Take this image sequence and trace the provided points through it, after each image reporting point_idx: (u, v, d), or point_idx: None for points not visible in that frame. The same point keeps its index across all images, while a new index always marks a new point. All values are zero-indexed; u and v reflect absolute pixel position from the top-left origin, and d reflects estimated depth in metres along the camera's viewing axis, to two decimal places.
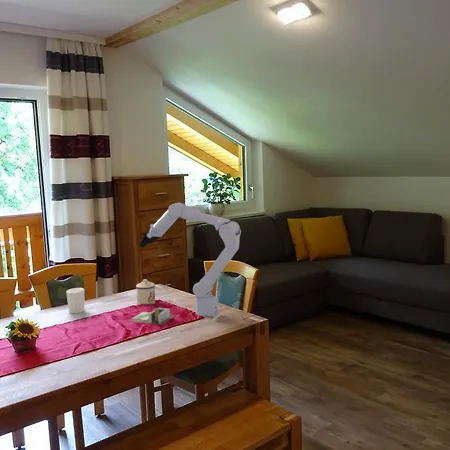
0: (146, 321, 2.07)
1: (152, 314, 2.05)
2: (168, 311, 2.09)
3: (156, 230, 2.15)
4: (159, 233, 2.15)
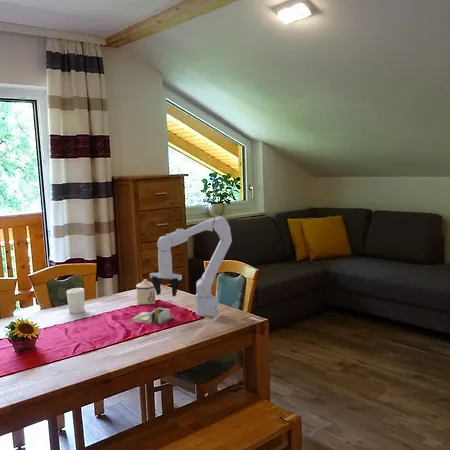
0: (146, 321, 2.07)
1: (152, 314, 2.05)
2: (168, 311, 2.09)
3: (171, 272, 2.11)
4: None
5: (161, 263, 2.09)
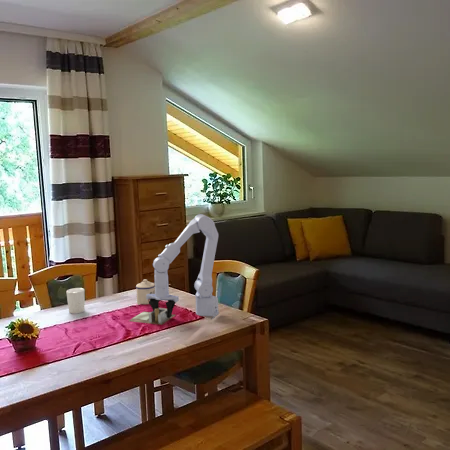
0: (146, 321, 2.07)
1: (152, 314, 2.05)
2: None
3: (168, 293, 2.09)
4: None
5: (159, 285, 2.06)
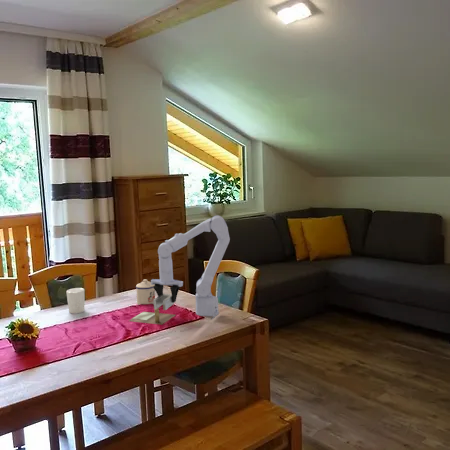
0: (146, 321, 2.07)
1: (157, 300, 2.09)
2: None
3: (172, 278, 2.12)
4: None
5: (162, 270, 2.10)
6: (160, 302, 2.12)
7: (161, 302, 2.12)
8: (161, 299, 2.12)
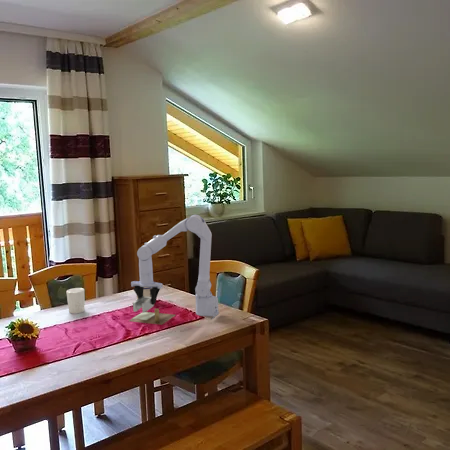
0: (146, 321, 2.07)
1: (136, 303, 2.11)
2: None
3: (152, 281, 2.14)
4: None
5: (141, 272, 2.12)
6: (140, 305, 2.14)
7: (141, 304, 2.14)
8: (141, 301, 2.14)
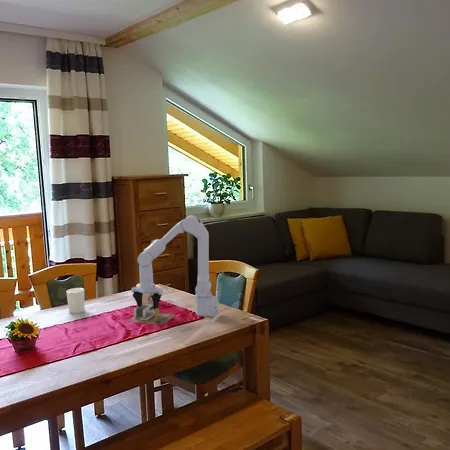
0: (146, 321, 2.07)
1: (137, 310, 2.11)
2: None
3: (152, 287, 2.14)
4: None
5: (141, 278, 2.12)
6: (141, 312, 2.14)
7: (141, 312, 2.15)
8: (142, 308, 2.15)
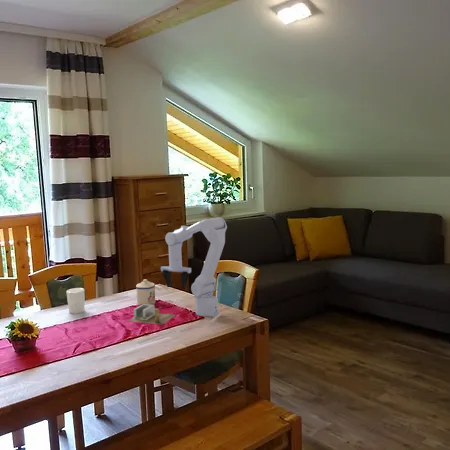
0: (146, 321, 2.07)
1: (137, 310, 2.11)
2: (153, 307, 2.15)
3: (181, 265, 2.23)
4: None
5: (169, 256, 2.23)
6: (141, 312, 2.14)
7: (141, 312, 2.15)
8: (142, 308, 2.15)
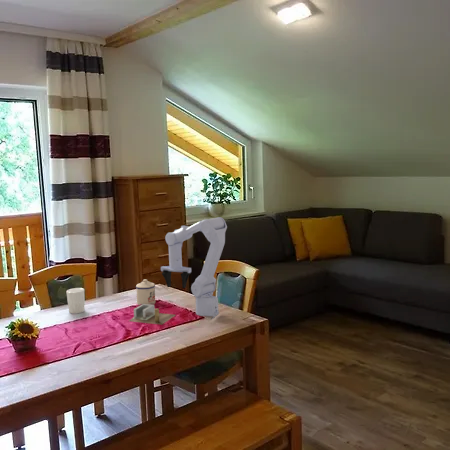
0: (146, 321, 2.07)
1: (137, 310, 2.11)
2: (153, 307, 2.15)
3: (181, 265, 2.23)
4: None
5: (169, 256, 2.23)
6: (141, 312, 2.14)
7: (141, 312, 2.15)
8: (142, 308, 2.15)
